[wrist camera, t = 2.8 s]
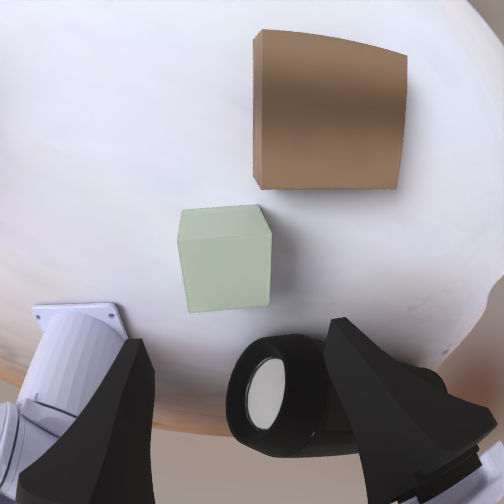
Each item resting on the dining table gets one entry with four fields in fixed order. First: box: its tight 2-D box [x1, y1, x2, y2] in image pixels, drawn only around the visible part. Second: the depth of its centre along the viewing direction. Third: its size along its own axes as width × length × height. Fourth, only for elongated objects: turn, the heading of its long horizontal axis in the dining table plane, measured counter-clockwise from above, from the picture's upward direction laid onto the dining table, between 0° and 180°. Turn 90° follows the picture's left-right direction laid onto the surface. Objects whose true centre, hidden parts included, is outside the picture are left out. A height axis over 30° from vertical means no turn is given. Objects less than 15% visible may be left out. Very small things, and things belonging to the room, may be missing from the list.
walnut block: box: [253, 29, 407, 190], centre depth 14 cm, size 8×8×3 cm
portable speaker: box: [226, 334, 448, 458], centre depth 24 cm, size 26×10×10 cm, turn 59°
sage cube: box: [177, 204, 272, 313], centre depth 17 cm, size 4×4×4 cm
